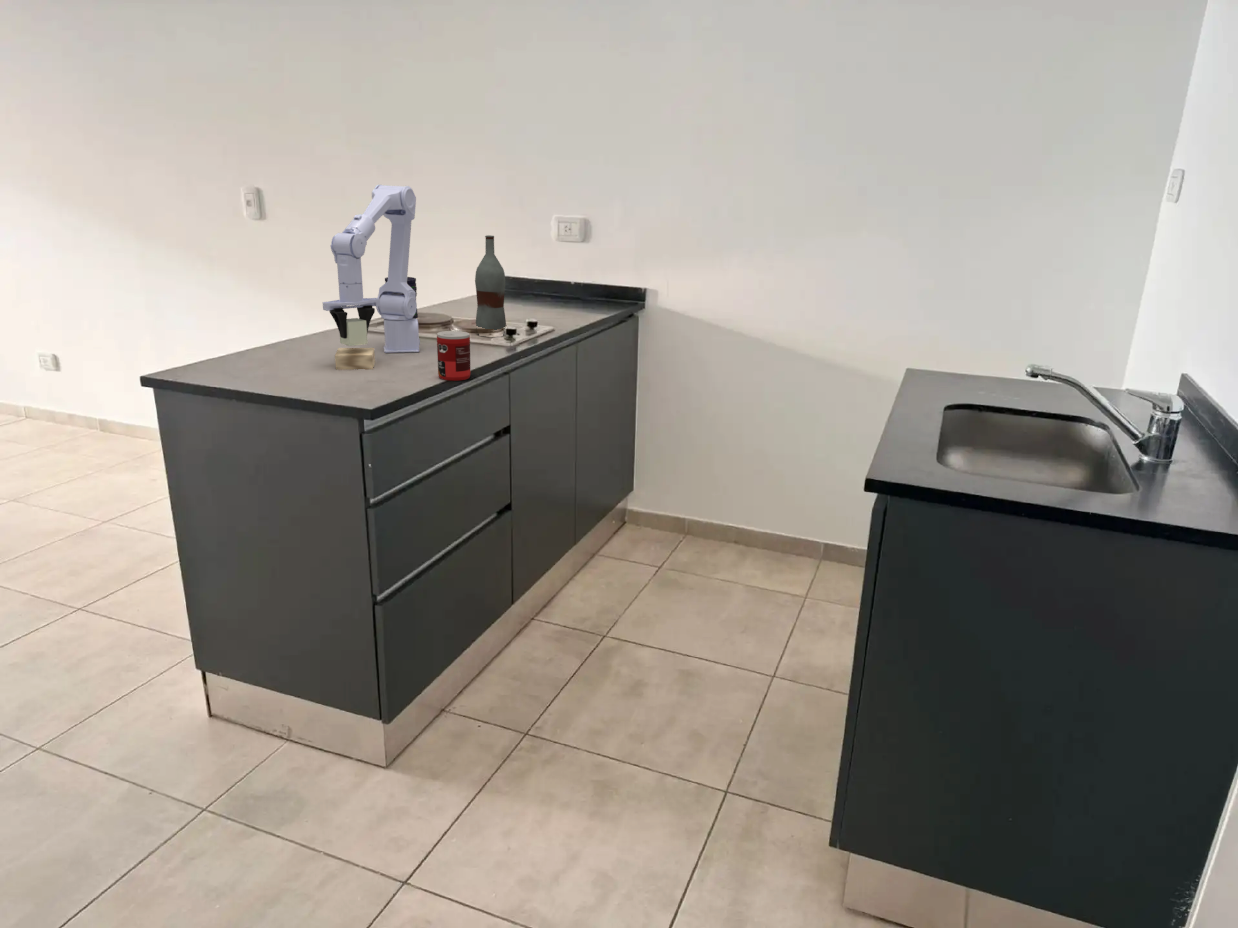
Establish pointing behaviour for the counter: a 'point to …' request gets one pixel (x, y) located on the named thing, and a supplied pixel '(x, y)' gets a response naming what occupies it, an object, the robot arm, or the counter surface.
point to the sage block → (355, 332)
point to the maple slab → (354, 358)
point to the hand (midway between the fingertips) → (354, 336)
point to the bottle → (490, 290)
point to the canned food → (453, 355)
